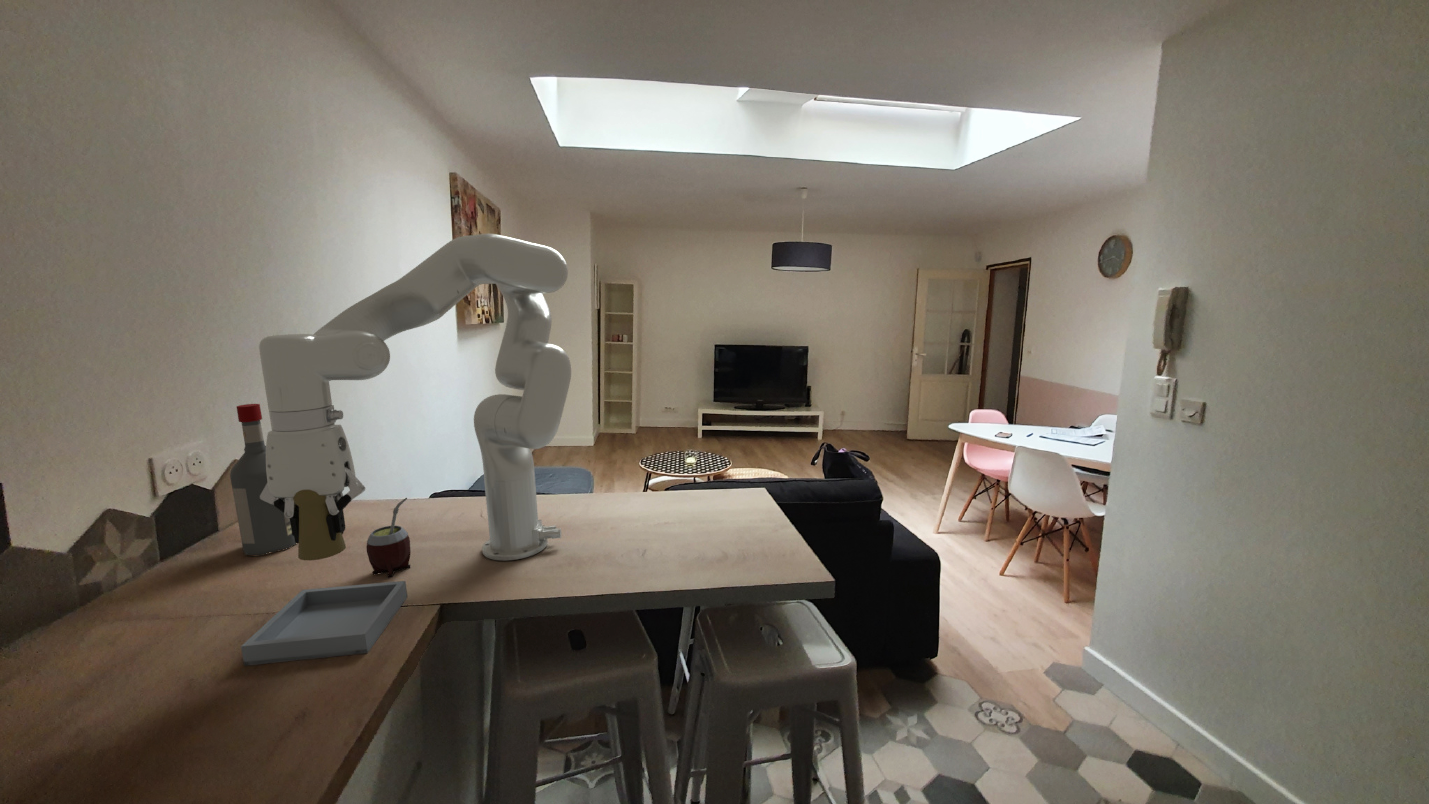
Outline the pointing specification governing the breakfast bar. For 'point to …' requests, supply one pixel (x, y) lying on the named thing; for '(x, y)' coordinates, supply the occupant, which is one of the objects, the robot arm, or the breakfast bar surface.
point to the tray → (326, 623)
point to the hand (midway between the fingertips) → (320, 537)
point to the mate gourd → (389, 548)
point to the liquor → (256, 492)
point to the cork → (315, 528)
